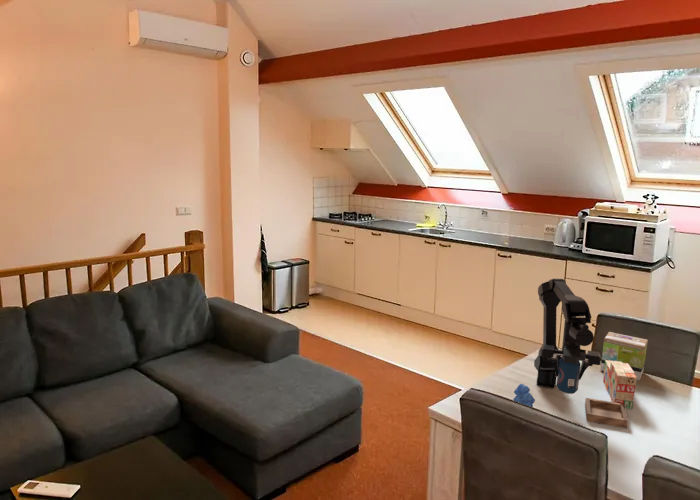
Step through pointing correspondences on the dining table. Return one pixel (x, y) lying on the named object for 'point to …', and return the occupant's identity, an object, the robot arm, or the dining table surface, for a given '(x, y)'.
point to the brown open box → (606, 413)
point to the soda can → (568, 377)
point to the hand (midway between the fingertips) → (568, 377)
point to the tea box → (625, 351)
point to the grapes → (523, 395)
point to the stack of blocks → (620, 382)
